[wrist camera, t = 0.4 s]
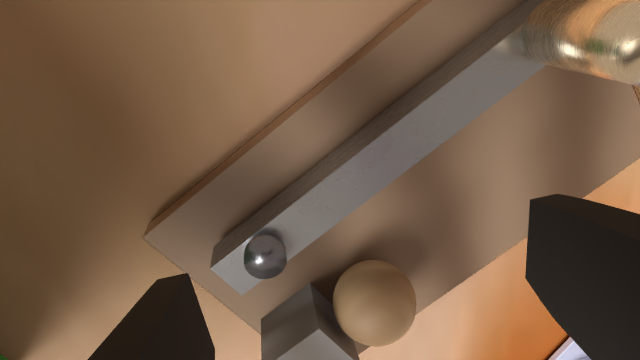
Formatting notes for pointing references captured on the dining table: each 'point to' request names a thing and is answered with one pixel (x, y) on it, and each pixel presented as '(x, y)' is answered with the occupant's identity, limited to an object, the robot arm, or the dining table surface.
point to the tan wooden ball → (374, 303)
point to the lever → (432, 123)
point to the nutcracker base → (403, 179)
